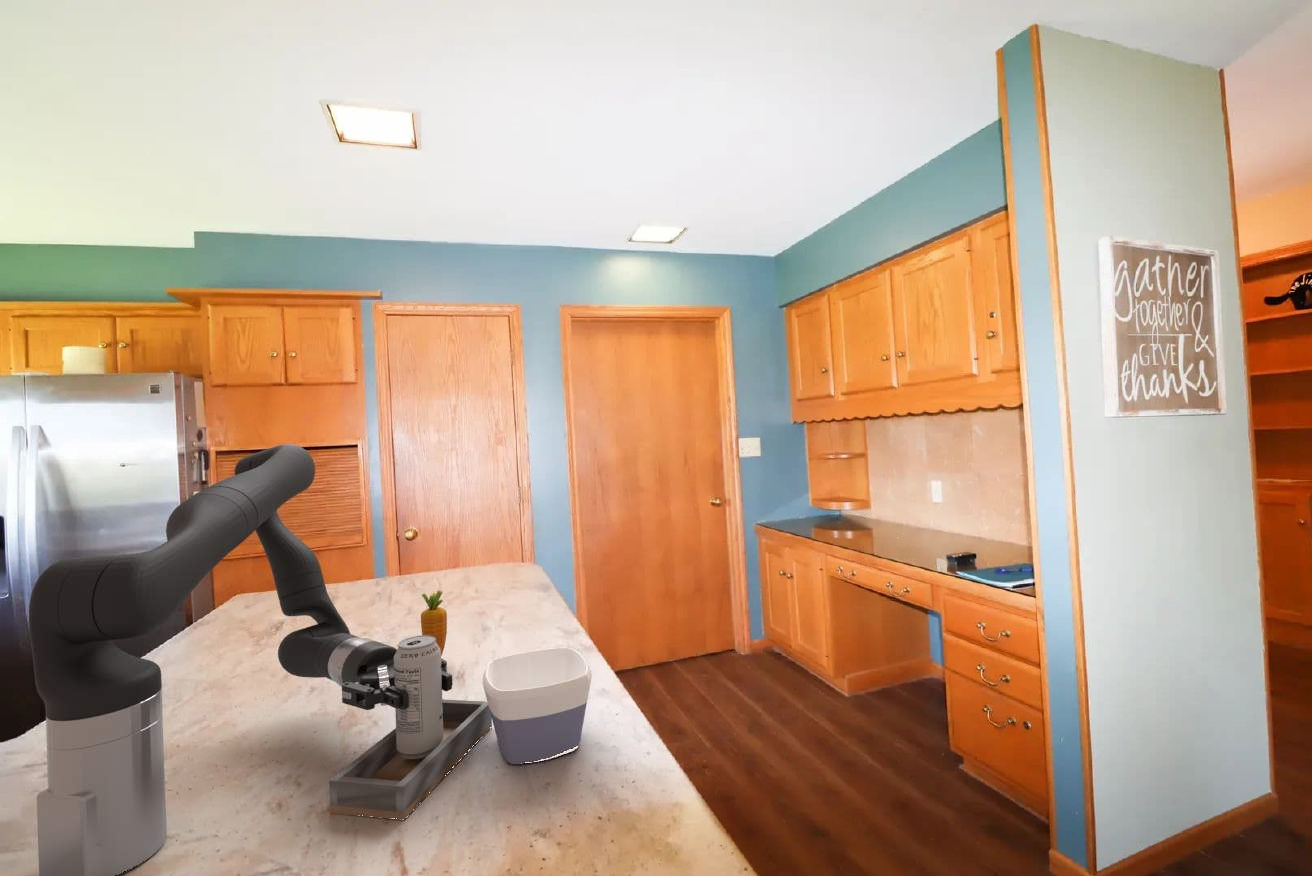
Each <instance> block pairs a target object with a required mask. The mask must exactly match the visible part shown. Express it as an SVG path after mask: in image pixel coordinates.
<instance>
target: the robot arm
mask: <svg viewBox="0 0 1312 876" xmlns="http://www.w3.org/2000/svg"><path fill="white" fill-rule="evenodd" d="M315 476H316V465H315V461H314V459H313V457H312V455H311V454H310V453H309V452H308V451H307V450H306V449H304V447H302V446H300V445H296V444H295V443H294V444H293V443H285V444H279V445H276V446H274V447H271V448H267V449H264V450H262V451H259V452H256V453H253V454H250V455H247V456H245V457H242V458H241V459H240V460H238V461H237V463H236V464H235V467H234V475H233V476H230V477H228V478H226V479H223V480H221V481H218V482H215V483H214V484H211V485H210V486H207V487H205V488H203V489H202V490H200V491H198V492H197V493H195V494H193V495H192V496H190V497H189V498H187V499H185V500H184V501H182V503H180V504H179V505H178V506H176V507H175V509H174V510H173V511H172V512H171V514H170V515H169V517H168V519H167V521H166V526H165V527H166V529H165V532H166V540H167V541H166V542H164V543H163V544H161V545H159V546H157V547H154V548H152V549H151V550H147V551H142V552H135V553H125V554H124V553H122V554H110V555H109V554H107V555H96V556H95V555H93V556H92V555H91V556H78V557H71V558H65V559H62V560H59V561H57V562H55V563H52V564H51V565H49V566H48V567H47V568H46V569H45V570H44V571H43V572H42V573H41V574H40V576H39V577H38V578H37V580H36V582H35V583H34V586H33V589H32V592H31V594H30V599H29V605H28V627H29V637H30V645H31V646H30V647H31V655H32V663H33V672H34V673H33V675H34V682H35V687H36V691H37V693H38V695H39V697H40V698H41V700H42V701H43V703H44V708H45V725H46V726H45V729H46V730H45V731H46V761H47V762H46V765H47V766H46V767H47V769H46V770H47V789H44V790H42V791H40V792H38V794H37V796H36V816H37V817H36V819H37V849H38V850H37V852H38V854H37V855H38V856H37V857H38V876H115V875H118V874H120V875H122V874H124V873H125V872H124V871H126V870H128V871H130V870H131V869H134V868H135V867H137V866H139V865H140V864H143V863H144V862H146V860H148V859H149V858H151V857H152V856H153V855H154V854H156V853H157V852H158V851H159V850H160V849H161V848H162V847H163V846H164V844H165V842H166V840H167V838H168V837H167V835H168V834H167V833H168V831H167V808H166V807H167V804H166V803H167V802H166V778H165V777H166V775H165V748H164V746H165V745H164V721H163V719H164V718H163V687H162V685H163V684H162V669H161V667H160V666H159V665H158V663H156V662H155V661H152V660H150V659H146V658H142V657H139V656H138V657H137V656H135V655H132V654H129V653H127V652H125V651H123V650H121V649H120V648H118V647H117V646H116V645H115V644H114V642H113V641H116V640H126V639H132V638H133V639H134V638H137V637H141V636H144V635H147V634H149V633H152V632H153V631H155V630H156V629H157V630H158V628H160V627H161V626H162V625H163V624H164V623H165V622H167V620H169V618H170V617H171V616H172V615H173V614H174V613H175V612H176V611H177V610H178V609H179V608H180V607H181V606H182V604H183V603H184V602H185V601H186V599H187V598H188V597H189V596H190V594H191V593H192V592H193V591H194V590H195V589H196V587H197V586H198V585H199V584H200V582H201V581H202V580H203V579H204V578H205V577H206V576H207V575H208V574H209V572H211V571H212V570H213V569H214V568H215V567H216V566H217V565H218V564H219V563H220V562H221V561H222V560H223V559H224V558H225V557H226V556H228V554H230V553H231V552H232V551H234V550H235V549H236V548H238V546H240V545H241V544H242V543H243V542H244V541H245V540H247V539H248V538H249V537H250V536H251V535H252V534H253V533H254V532H255V533H256V535H257V537H258V539H259V541H260V544H261V546H262V547H263V550H264V553H265V554H266V558H267V560H268V563H269V566H270V569H271V573H272V576H273V580H274V581H273V582H274V584H275V589H276V594H277V598H278V601H279V605H280V609H281V612H282V614H283V615H284V616H286V617H301V616H303V617H305V616H308V617H311V619H312V620H314V621H315V622H316V624H312V625H310V626H307V627H303V628H300V629H297V630H294V631H292V632H290V633H289V634H286V636H284V637H283V639H282V640H281V642H280V644H279V646H278V649H277V658H278V661H279V664H280V665H281V667H282V668H283V670H284V671H286V672H287V673H289V674H291V676H296V677H298V678H299V677H300V678H315V679H318V678H319V679H321V678H326V679H328V680H330V681H333V682H335V683H336V684H337V685H338V686H340V687H341V703H342V704H345V705H348V706H352V707H356V708H357V709H361V710H365V711H371V710H373V709H375V708H376V705H379V704H380V706H382V707H384V706H389V707H392V708H394V709H395V708H399V709H401V710H404V709H407V708H408V707H409V695H408V692H407V691H404V690H402V689H399V688H397V687H395V680H394V655H395V654H396V652H397V650H398V648H396V647H393V646H391V645H388V644H385V643H383V642H379V641H377V640H374V639H371V638H365V637H361V636H357V635H354V634H351V631H350V629H349V627H348V626H347V624H346V622H345V621H344V619H343V617H342V616H341V615H340V613H339V611H338V609H336V607H335V604H334V603H333V602H332V599H331V597H330V595H329V594H328V591H327V587H326V583H325V580H324V575H323V571H322V568H321V565H320V561H319V559H318V557H317V555H316V554H315V553H314V551H313V550H312V549H311V547H309V546H308V545H307V544H306V543H305V542H304V541H303V540H302V539H301V538H299V537H298V536H296V535H295V534H294V533H293V532H292V531H291V530H290V529H289V528H288V527H287V526H286V525H285V524H284V523H283V521H282V520H281V518H280V515H279V513H278V510H279V509H280V507H282V506H283V505H284V504H286V503H287V502H288V501H290V500H291V499H293V498H295V497H296V496H298V495H299V494H300V493H303V492H304V491H307V490H308V489H309V488H310V487H311V485H312V484H313V482H314V480H315V478H316V477H315ZM447 666H448V661H447V660H445V659H444V658H442V657H441V675H442V692H448V691H450V690H451V691H452V689H453V675H452V673H449V672H448V668H447ZM143 861H144V862H143ZM136 865H137V866H136ZM134 866H135V867H134ZM133 867H134V868H133ZM129 869H130V870H129ZM123 872H124V873H123ZM126 872H127V871H126ZM121 873H122V874H121ZM118 876H119V875H118Z"/></svg>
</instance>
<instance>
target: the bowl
mask: <svg viewBox="0 0 1312 876" xmlns="http://www.w3.org/2000/svg"><path fill="white" fill-rule="evenodd" d="M587 661H588V660H586V658H585V657H583V655H582V654H581V653H579V652H578V651H577V650H575V649H573V648H571V647H554V648H553V647H552V648H543V649H537V650H528V651H523V652H519V653H513V654H509V655H504V656H501V657H497V658H494V659H492V660H490V662H489V663H488V664H487V665H486V667H485V669H484V672H483V676H482V687H483V690H484V694H485V695H484V696H485V697H486V702H488V706H489V709H490V713H491V717H492V726H493V727H494V728H493V729H494V731H495V736H496V740H497V744H498V748H499V751H500V754H501V755H502V757H503V759H504V760H505V761H506V763H508V762H509V763H508V764H510V763H511V764H510V765H512V764H521V763H525V762H534V761H538V760H541V759H546V758H550V757H552V756H555V755H557V754H560V753H563V752H564V751H567V750H569V749H573V748H574V747H576V746H578V745H579V746H580V744H579V743H581V740H582V739H581V738H582V734H583V733H582V732H583V726H584V721H585V716H586V711H587V705H588V699H589V693H590V688H591V682H592V677H593V674H592V670H591V668H590V665H589V663H588V662H587Z"/></svg>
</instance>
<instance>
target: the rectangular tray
mask: <svg viewBox="0 0 1312 876" xmlns="http://www.w3.org/2000/svg"><path fill="white" fill-rule="evenodd" d="M442 707H443V741H442V742H441V743H440V745H439V746H438V747H436V748H435V749H434V750H433V751H432V752H431V753H430V754H429V755H428V756H426V757H423V758H419V759H406V758H404V757H402V755H401V753H400V752H399V751H398V750H397V744H396V727H395V728H394V729H393V730H391V731H390V732H388V733H387V734H386V735H385V736H384V737H383V738H381V739H380V740H378V741H377V742H376V743H375V744H374V745H372V746H370V748H369V749H368V750H366V751H365V752H364V753H362V754H361V755H360V756H358V757H357V758H356V759H354V761H352V762H351V763H350V764H348V765H347V766H345V768H344V769H341V770H340V772H338V773H336V775H334V776H333V777H331V779H329V781H328V783H329V809H330V810H329V812H330V814H332V815H339V816H340V815H342V816H350V815H360V816H359V817H361V816H362V815H363V816H373V817H381V818H380V819H382V818H395V819H396V818H397V819H405V818H406V817H407V816H408V815H409V814H410V813H411V812H412V811H413V809H415V807H416V806H417V805H419V803H420V802H421V801H422V800H423V799H424V798H425V797H426V796H427V795H428V794H429V792H431V791H432V789H434V788H435V787H436V785H438V786H439V784H440V783H441V782H442V781H443V780H444V779H445V778H446V777H445V775H447V773H448V772H449V771H450V770H451V769H452V767H453V766H455V765H456V763H457V762H458V761H459V760H460V759H461V758H462V757H463V756H464V754H465V753H467V752H468V750H469V749H471V748H472V746H473V745H475V743H476V742H477V741H478V740H479V739H480V738H481V737H482V736H484V734H485V733H486V732H487V731H488V730H489V729H490V727H492V728H493V721H492V717H491V713H490V709H489V706H488V702H487V701H485V700H484V701H479V700H461V699H460V700H459V699H445V698H444V699H443V698H442ZM490 730H491V729H490ZM490 730H489V731H490ZM489 731H488V732H489ZM488 732H487V733H488ZM487 733H486V734H487ZM486 734H485V735H486ZM484 737H485V736H484ZM475 746H476V745H475ZM472 749H473V748H472ZM472 749H471V750H472ZM456 766H457V765H456ZM456 766H455V767H456ZM447 776H448V775H447ZM444 777H445V778H444ZM443 778H444V779H443ZM442 779H443V780H442ZM441 780H442V781H441ZM440 781H441V782H440ZM439 782H440V783H439ZM438 783H439V784H438ZM436 788H437V787H436ZM436 788H435V789H436ZM435 789H434V790H435ZM432 792H433V791H432ZM432 792H431V793H432ZM429 795H430V794H429ZM429 795H428V796H429ZM428 796H427V797H428ZM427 797H426V798H427ZM426 798H425V799H426ZM425 799H424V800H425ZM424 800H423V801H424ZM419 806H420V805H419ZM415 810H416V809H415ZM413 812H414V811H413ZM413 812H412V813H413ZM412 813H411V814H412ZM411 814H410V815H411ZM410 815H409V816H410ZM409 816H408V817H409ZM408 817H407V818H408Z"/></svg>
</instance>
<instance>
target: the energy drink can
mask: <svg viewBox="0 0 1312 876" xmlns="http://www.w3.org/2000/svg"><path fill="white" fill-rule="evenodd" d="M397 645H398V648H397V652H396V654H395V655H394V680H395V687H397V688H399V689H402V690H404V691H407V692H408V695H409V707H408V708H407V709H404V710H401V709H399V708H394V711H395V728H396V744H397V750H398V751H399V752H400V753H401V755H402V757H404V758H406V759H419V758H423V757H426V756H428V755H429V754H430V753H431V752H432V751H433V750H434V749H435V748H436V747H438V746H439V745H440V743H441V742H442V741H443V707H442V699H443V690H442V675H441V658H442V656H441V649H440V647H439V646H438V645H437V643H436V638H435V637H434V636H429V635H422V634H421V635H415V636H411V637H410V636H409V637H407V638H405V639H403V640H400V641H399V642H398V644H397Z"/></svg>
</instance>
